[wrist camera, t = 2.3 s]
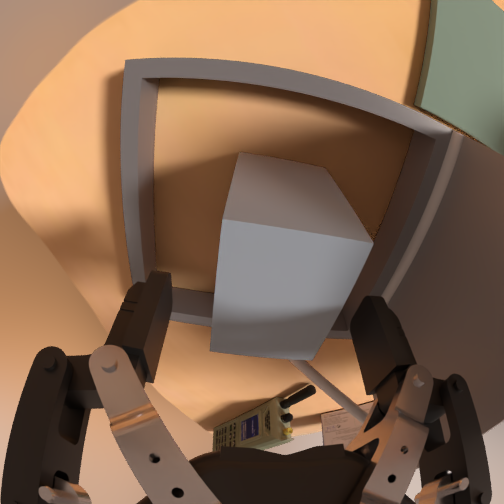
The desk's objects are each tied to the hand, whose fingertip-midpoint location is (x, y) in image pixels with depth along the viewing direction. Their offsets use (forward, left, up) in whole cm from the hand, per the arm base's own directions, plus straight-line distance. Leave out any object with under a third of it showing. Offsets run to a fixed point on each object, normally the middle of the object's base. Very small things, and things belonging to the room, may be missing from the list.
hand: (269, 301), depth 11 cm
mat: (-12, -15, -7) cm, 21 cm away
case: (0, 0, -7) cm, 7 cm away
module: (0, 0, -8) cm, 8 cm away
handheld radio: (-5, +32, -8) cm, 33 cm away
